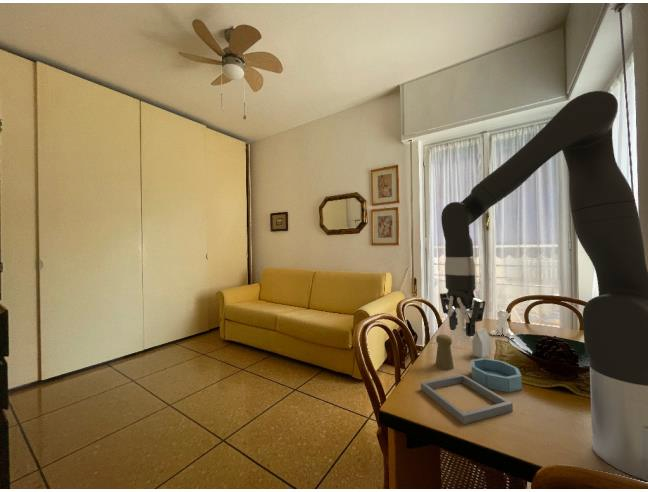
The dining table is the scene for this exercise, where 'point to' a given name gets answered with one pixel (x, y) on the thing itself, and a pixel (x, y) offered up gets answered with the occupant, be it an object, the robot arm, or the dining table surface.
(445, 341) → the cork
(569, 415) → the dining table surface
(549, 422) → the dining table surface
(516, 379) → the bowl
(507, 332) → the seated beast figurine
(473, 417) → the grey square frame
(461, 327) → the chess pawn
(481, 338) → the grey house block
